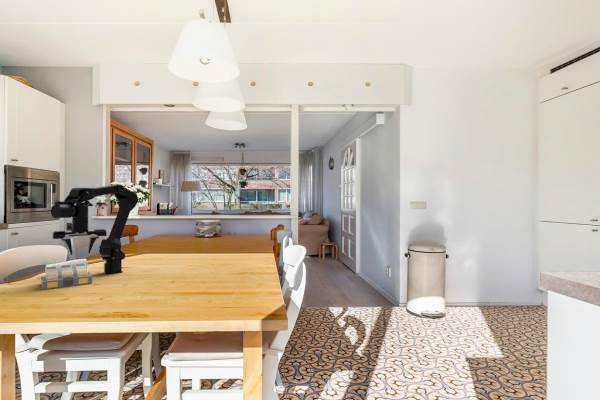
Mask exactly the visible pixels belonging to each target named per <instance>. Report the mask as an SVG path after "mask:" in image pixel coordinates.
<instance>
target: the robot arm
mask: <svg viewBox="0 0 600 400" xmlns="http://www.w3.org/2000/svg"><path fill="white" fill-rule="evenodd" d="M112 194H113V195H114V198H116V200H118V201H117V205H118V211H117V213H116V217H115V220H114V221H113V224H112V227H111V230H110V233H109V235H108V234H107V233H108V232H107V229H104V228H95V229H94V230H89V207H93V206H94V204H93V203H92V202H90V200H93V199H94V198H96V197H100V196H105V195H106V196H107V195H112ZM138 202H139V197H138V195H137V193H135V192H133V191H132V190H130V189H128V188H126V187H125V186H124V185H122V184H119V183H118V184H117V183H116V184H115V183H114V184H111V185H104V186H98V187H73V188H70V191H69V193H68V195H67V196H66V198H65V199H64V200H63V201H62V200H61V201H60V200H59V201H56V200H55V201H54V204H53V205H52V207H51V209H50V214H51V217H52V218H54V219H70V218H71V222H66V225H65V226H66V228H65V229H66V230H54V231H53V232H52V239H53V240H59V239H60V240H61V241H63V242H65V244H66V246H67V248H68V250H69V255H70V256H72V255H73V246H72V239H71V238H70V237H83V236H89V237H88V238H89V240H88V247H87V248H88V249H87V254H90V253H91V252H92V248H93V246H94V244H95V243H96V241H97V239H100V237H106V236H107V235H108V237H107V238H106V239H105V238H103V239H102V240H101V242H100V245H99V246H98V249H99V250H98V252H99V255H101V259H102V261H103V260H105V262H104V263H103V272H104V273H105V274H106V275H114V274H120V273H123V271H122V268H123V267H122V264H123V263H122V261H123V260H125V258H126V253H124V252H123V251H122V242H121V238H122V235H123V233H124V231H125V227H126V224H127V221H128V218H129V216H130V214H131V211H132V210H134V209H135V208H136V206H137V205H138Z"/></svg>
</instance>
